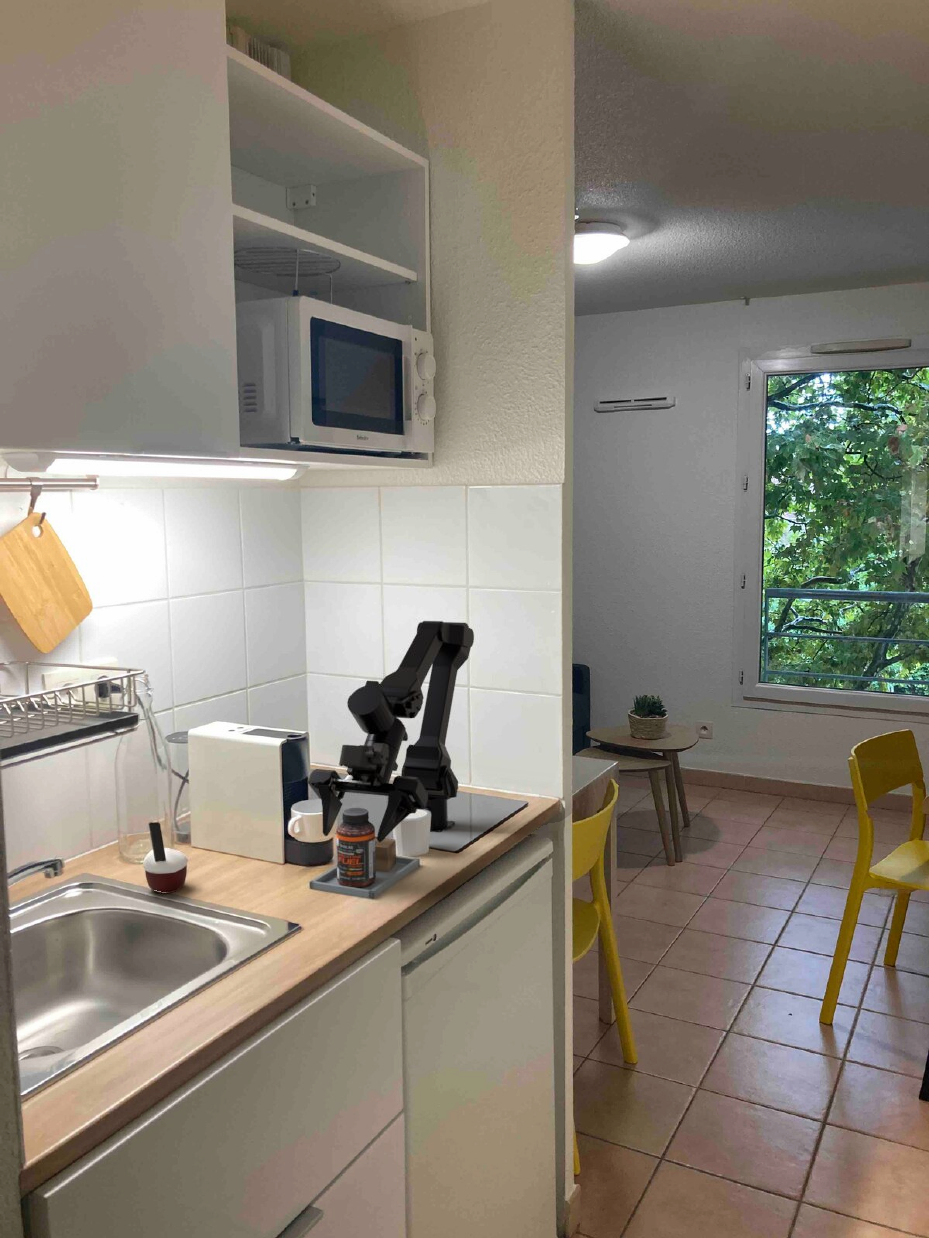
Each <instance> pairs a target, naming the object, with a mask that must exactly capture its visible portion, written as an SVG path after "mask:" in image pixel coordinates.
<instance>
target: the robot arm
mask: <svg viewBox="0 0 929 1238" xmlns="http://www.w3.org/2000/svg"><path fill="white" fill-rule="evenodd" d="M416 627H417V628H416V633H415V636H414V638H413V639H412V641H411V643H410V645H409V647H408V649H407V651H406V653H405V654H404V656H403V659H402V660H401V662H400V664H399V666H398V667H397V669H396V670H395V671H392V673H390V674H388V675H385V677H383V679H382V681H380V682H379V680H366V683H365V685H364V686H362V687H359V688H357V689H356V690H354V691H353V692H352V693H351V694H350V695H349V697H348V699H347V708H348V711H349V712H350V714H351V715H352V717H353V718H354V720H355V722H356V723H357V725H358V726H359V728H360V729H361V730H362V732H364V733H365V734H367V736H366V738H365V740H364V744H363V745H362V744H359V745H357V744H356V745H355V744H354V745H353V744H351V745H350V744H342V746H341V751H340V757H339V763H338V765H339V766H340V767H345V768H347V769H346V773H347V775H348V776H350V777H352V778H351V779H342V778H341V776H340V775H339V773H338V771H336V770H335V769H323V768H315V769H314V770H312V771H311V773H310V774H309V777H308V780H307V784H308V786H310V788H311V789H312V791H313V792H314V793H315V795H316V796H317V797H318V798H319V799H321V807H322V809H321V811H322V834H323V836H325V837H327V836H329V834H330V832H331V831H332V829H333V827H334V824H335V822H336V820H337V817H338V815H339V813H340V811H341V808H342V806H343V803H342V801H341V800H342V799H343V798H344V797H345V794H346V793H351V794H352V793H353V794H361V795H362V794H363V795H375V796H384V797H386V796H387V806H386V808H385V811H384V814H383V817H382V819H381V821H380V825H379V828H378V832H377V837H376V838H377V840H378V841H379V842H382V841H383V840H384V839H387V837H388V835H389V834H390V833H391V832H393V829H394V828H395V827H396V826H397V825H398V824H399V823H400V822H401V821H402V820H404V819H405V818H406V817H407V816H408V815H409V814H411V813H416V811H417V809H421V810H423V809H425V810H428V811H430V812H431V825H430V832H434V833H441V832H443V831H447V830H449V829H450V828H452V827H453V826H455V825H456V821H454V820H449V819H448V817H449V816H448V815H449V814H448V801H449V800H450V799H453V798H457V796H458V795H457V794H458V790H459V781H458V778H457V777H456V775H455V773H454V772H453V770H452V768H451V765H452V760H451V757H450V754H449V752H448V750H447V747H446V740H447V736H448V735H447V734H448V728H449V723H450V722H449V721H450V717H451V712H452V704H453V699H454V694H455V693H454V692H455V687H456V681H457V675H458V671H459V670H460V669H461V667H462V666H464V664H465V663H466V661H467V660H468V659H469V658H470V657H469V656H470V653H471V647H473V645H474V642H475V641H474V640H475V635H474V634H475V633H474V630H473V629H472V627H469V624H468V622H467V623H466V622H461V621H460V622H459V621H458V622H456V621H454V622H453V621H452V622H451V621H443V620H423V621H420V622H419V623H418V624H417V626H416ZM430 669H431V670H430ZM429 671H430V677H429V681H428V682H429V683H428V688H427V693H426V698H425V697H424V693H423V691H422V686H423V683H424V682H425V679H426V677H427V675H428V674H429ZM424 698H425V705H424V710H423V716H422V720H421V721H422V722H421V728H420V733H419V737H418V740H416V742H415V743H414V744H409V745H408V746H407V748H406V752H405V757H404V762H403V764H402V768H401V775H397V776H394V778H393V780H392V782H391V783H390V781H391V778H392V774H393V772H397V771H398V767H399V765H398V763H397V759H398V755H399V752H400V749H401V746H402V743H403V742H408V740H409V736H408V733H407V729H406V727H405V724H404V723H403V722H402V720H401V719H415V718H416V717H417V716H418V714H419V712H421V710H422V707H423V706H422V705H423V703H424ZM399 718H400V719H399ZM452 825H453V826H452ZM451 826H452V827H451ZM448 828H449V829H448Z"/></svg>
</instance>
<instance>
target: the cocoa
mask: <svg viewBox="0 0 929 1238" xmlns="http://www.w3.org/2000/svg"><path fill="white" fill-rule="evenodd" d="M161 827H162V826H161V823H160V822H153V821H152V822H149V823H148V828H149V829H148V830H149V835H150V840H151V846H152V850H150V851H149V852H148V853H147V855H145V858H143V863H142V868H143V869H144V873H145V878H146V882H147V884H148V887H149V888H150V889H151V890H152V891H153V890H157V891H161V892H171V893H173V891H174V892H176V890H177V891H178V890H180V888H182V887H183V886H184V884H185V882H186V879H187V872H188V861H189V859H188V858H187V856H186V855H185V854H184V853H183V852H182V851H179V850H177V849H172V848H169V847H165V844H164V839H163V834H162V828H161Z"/></svg>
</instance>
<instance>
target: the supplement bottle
mask: <svg viewBox="0 0 929 1238" xmlns="http://www.w3.org/2000/svg"><path fill="white" fill-rule="evenodd" d="M369 818H370V816H369V810H368V809H366V808H364V807H350V808H346V809H344V810H342V818H341V819H342V822H341V823H340V824H339V825H338V827H337V828H336V865H337V880H338V883H339V884H340V885H342V886H347V887H354V888H362V887H366V886H369V885H371V884H372V883H374V881H375V879H376V862H375V838H376V829H375V825H374V824H373V823H372V822H370V820H369Z"/></svg>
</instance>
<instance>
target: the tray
mask: <svg viewBox="0 0 929 1238" xmlns="http://www.w3.org/2000/svg"><path fill="white" fill-rule="evenodd" d="M420 861H421V860H420V858H414V857H410V856H402V855H396V864H395V865H394V866H393V868H392V869H391V870H390V871H389V872H379V871H376V879H375V881H374V883H372V884H371V885H369V886H366V887H362V888H354V887H347V886H342V885H340V884H339V883H338V880H337V864H336V865H335V866H333V867H332V868H329V870H326V871H325V872H323V873H322V874H320V875H318V876H317V877H315V878H313V879H311V880H310V881H309V882H308V883H309V885H308V886H309V889H310V890H315V891H321V892H327V893H335V894H340V895H347V896H351V897H357V898H364V899H371V900H373V899H375V898H376V897H378V896H379V895H380V894H382V893H383V892H385V891H386V890H388V889H389V888H390V887H391V886H393V885H394V884H396V883H397V882H399V880H402V878H404V877H405V876H406V875H408V874H410V873H411V872H413V871H414V870H416V869H417V868H418V867H420V865H421V864H420V863H421V862H420Z"/></svg>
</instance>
